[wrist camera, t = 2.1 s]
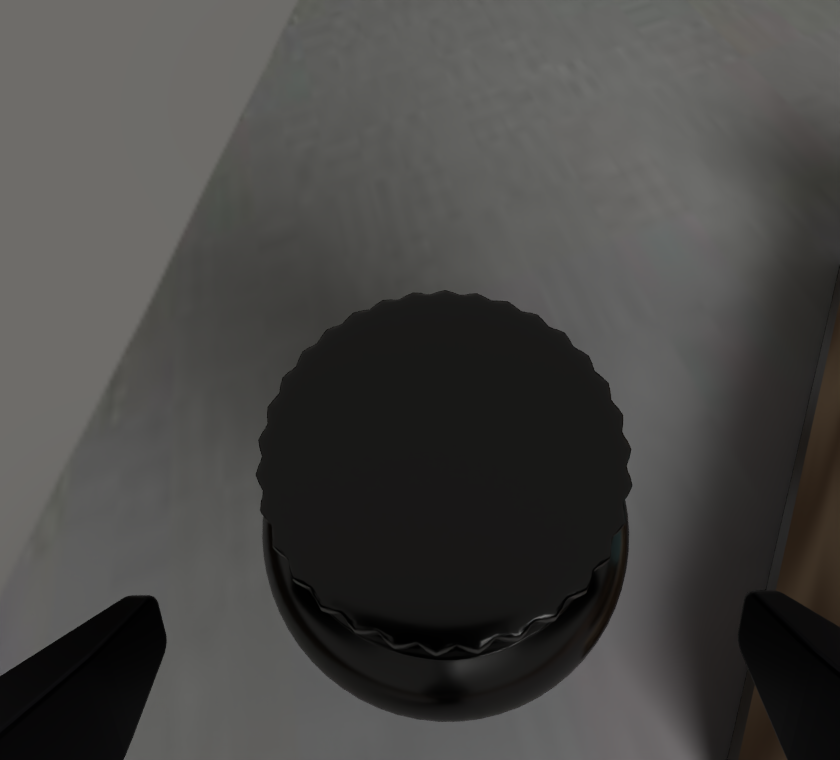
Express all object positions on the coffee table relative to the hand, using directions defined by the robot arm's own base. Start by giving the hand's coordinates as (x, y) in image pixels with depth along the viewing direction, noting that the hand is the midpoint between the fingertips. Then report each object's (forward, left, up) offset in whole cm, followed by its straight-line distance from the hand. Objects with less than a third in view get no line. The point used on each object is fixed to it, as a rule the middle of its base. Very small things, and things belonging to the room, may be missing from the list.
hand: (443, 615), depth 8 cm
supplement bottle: (+2, +1, -10) cm, 10 cm away
